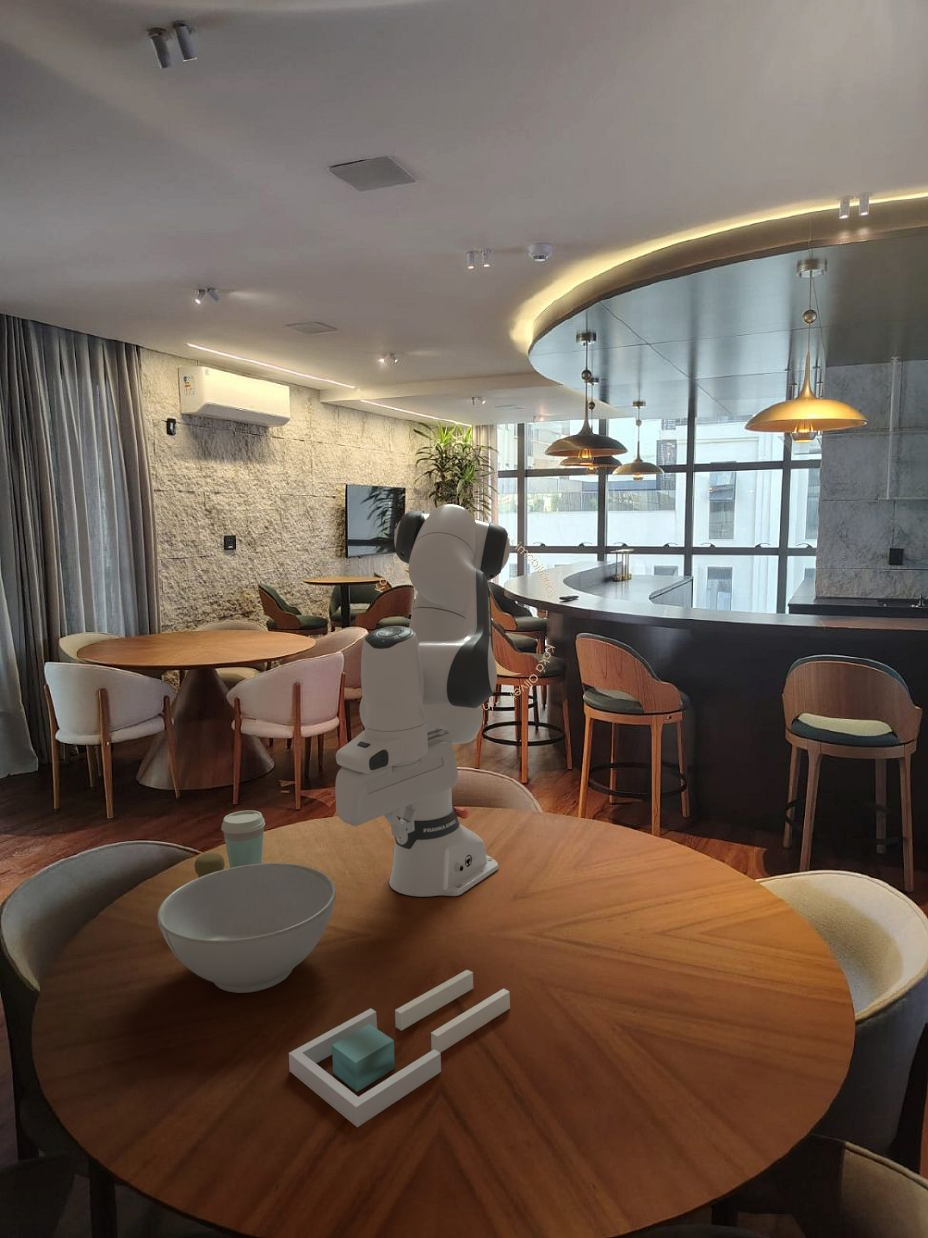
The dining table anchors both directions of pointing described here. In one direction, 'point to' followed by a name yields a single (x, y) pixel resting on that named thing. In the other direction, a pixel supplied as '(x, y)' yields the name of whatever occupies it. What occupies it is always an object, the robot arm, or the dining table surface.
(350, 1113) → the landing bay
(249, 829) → the coffee cup
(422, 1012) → the chute
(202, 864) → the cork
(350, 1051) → the teal block
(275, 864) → the decorative bowl
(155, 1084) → the dining table surface
